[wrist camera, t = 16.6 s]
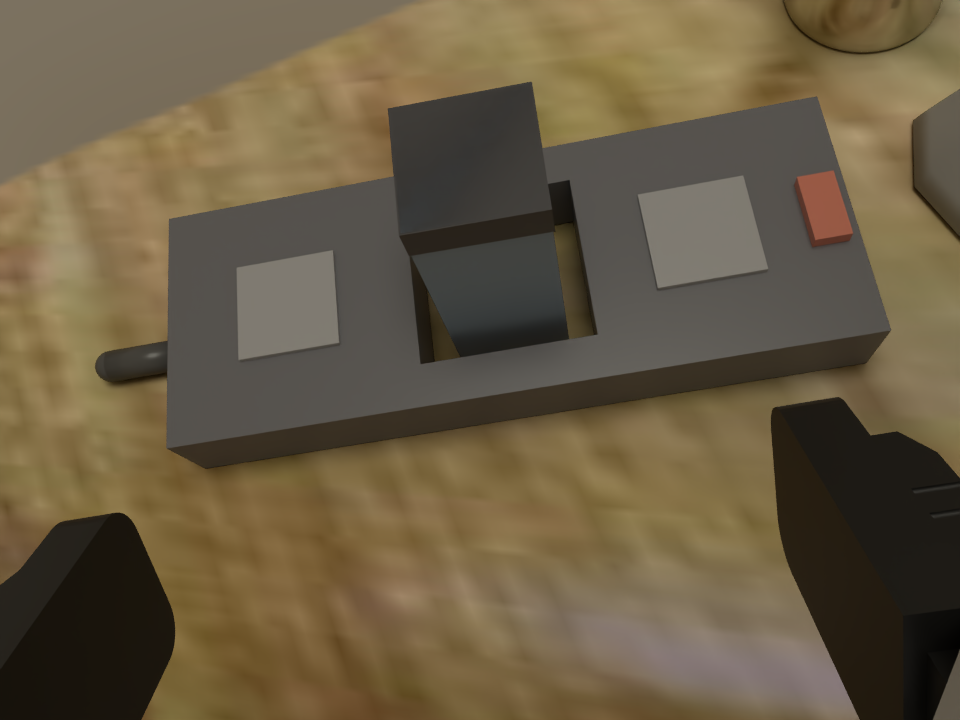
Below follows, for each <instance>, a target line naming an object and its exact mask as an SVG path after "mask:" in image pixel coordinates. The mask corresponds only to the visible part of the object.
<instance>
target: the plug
mask: <svg viewBox="0 0 960 720" xmlns="http://www.w3.org/2000/svg"><path fill="white" fill-rule="evenodd" d="M388 115H389V126H390V138H391V150H392V162H393V174H394V185H395V197H396V209H397V221H398V232H399V237H400V239H401V241H402V243H403V245H404V247H405V249H406V251H407V253H408V255H409V256H412V259H413V261H414V263H415V265H416V267H417V269H418V271H419V273H420V275H421V277H422V279H423V281H424V283H425V285H426V287H427V289H428V291H429V293H430V295H431V298H432V300H433V302H434V304H435V306H436V308H437V310H438V312H439V314H440V316H441V318H442V320H443V322H444V324H445V326H446V328H447V330H448V332H449V335H450V337H451V339H452V341H453V343H454V345H455V347H456V349H457V351H458V353H459V355H460V357H467V356H473V355H479V354H485V353H491V352H497V351H503V350H509V349H514V348H520V347H526V346H532V345H538V344H544V343H550V342H556V341H562V340H568V339H569V336H568V329H567V322H566V315H565V308H564V301H563V295H562V288H561V281H560V274H559V267H558V261H557V254H556V247H555V240H554V233H553V232H555V227H554V220H553V213H552V206H551V200H550V194H549V188H548V181H547V175H546V169H545V162H544V156H543V150H542V143H541V137H540V131H539V125H538V118H537V112H536V106H535V99H534V93H533V87H532V82H527V83H522V84H517V85H511V86H506V87H501V88H495V89H490V90H485V91H479V92H474V93H469V94H463V95H458V96H453V97H447V98H442V99H437V100H431V101H426V102H421V103H415V104H410V105H405V106H399V107H394V108H389V109H388Z"/></svg>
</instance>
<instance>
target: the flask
mask: <svg viewBox="0 0 960 720" xmlns="http://www.w3.org/2000/svg"><path fill="white" fill-rule="evenodd" d="M913 146H914V187H915V188H916V189H917V190H918V191H919V192H920V193H921V194H922V196H923V197H924V198H925V199H926V200H927V201H928V202H929V203H930V204H931V205H932V207H933V208H934V209H935V210H936V211H937V212H938V213H939V214H940V215H941V216H942V218H943V219H944V220H945V221H946V222H947V223H948V224H949V225H950V226H951V227H952V229H953V230H954V231H955V232H956V233H957V234H958V235H959V236H960V89H959V90H957V91H956V92H954V93H953V94H951V95H950V96H948V97H947V98H945V99H944V100H942V101H941V102H939V103H937V104H936V105H934V106H933V107H931V108H930V109H928V110H927V111H926V112H924V113H923V114H921V115H920V116H918V117H917V118H916V119H914V120H913Z"/></svg>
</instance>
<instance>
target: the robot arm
mask: <svg viewBox="0 0 960 720" xmlns="http://www.w3.org/2000/svg"><path fill="white" fill-rule="evenodd" d="M771 433H772V447H773V460H774V473H775V487H776V500H777V514H778V523H779V530H780V535H781V540H782V544H783V548H784V552H785V556H786V559H787V562H788V565H789V567H790V570H791V572H792V575H793V577H794V579H795V581H796V583H797V585H798V587H799V590H800V592H801V594H802V596H803V598H804V600H805V603H806V605H807V607H808V609H809V611H810V613H811V616H812V618H813V620H814V622H815V624H816V626H817V629H818V631H819V633H820V635H821V637H822V639H823V641H824V644H825V646H826V648H827V650H828V652H829V654H830V657H831V659H832V661H833V663H834V665H835V667H836V670H837V672H838V674H839V676H840V678H841V680H842V682H843V685H844V687H845V689H846V691H847V693H848V695H849V698H850V700H851V702H852V704H853V706H854V708H855V711H856V713H857V715H858V717H859V719H860V720H960V478H959V477H958V476H957V474H956V473H955V472H954V471H953V470H952V469H951V468H950V466H949V465H948V464H947V463H946V462H945V461H944V459H943V458H942V457H941V456H940V455H939V454H938V453H937V452H936V451H934V450H932V449H930V448H928V447H926V446H924V445H922V444H920V443H918V442H917V441H915V440H913V439H911V438H909V437H907V436H905V435H903V434H901V433H899V432H898V431H897V432H891V433H884V434H878V435H870V434H869V433H868V432H867V430H866V429H865V428H864V426H863V425H862V424H861V422H860V421H859V420H858V418H857V417H856V416H855V414H854V413H853V412H852V410H851V409H850V408H849V407H848V405H847V404H846V403H845V401H844V400H843V399H841V398H840V397H835V398H829V399H823V400H817V401H811V402H805V403H799V404H792V405H786V406H780V407H775V408H773V410H772V414H771ZM174 642H175V622H174V616H173V612H172V608H171V606H170V603H169V601H168V599H167V596H166V594H165V592H164V590H163V587H162V585H161V583H160V580H159V578H158V576H157V574H156V571H155V569H154V567H153V565H152V562H151V560H150V558H149V556H148V553H147V551H146V549H145V547H144V544H143V542H142V540H141V538H140V535H139V533H138V531H137V529H136V527H135V525H134V523H133V522H132V520H131V519H130V518H129V517H128V516H126V515H125V514H123V513H111V514H105V515H99V516H93V517H87V518H81V519H74V520H68V521H63V522H60V523H58V524H57V525H55V527H54V528H53V529H52V530H51V531H50V532H49V534H48V535H47V536H46V537H45V539H44V540H43V541H42V543H41V544H40V545H39V546H38V548H37V549H36V550H35V551H34V553H33V554H32V555H31V556H30V558H29V559H28V560H27V562H26V563H25V564H24V565H23V567H22V568H21V569H20V570H19V571H18V572H16V573H15V574H14V575H13V576H11V577H10V578H9V579H8V580H6V581H5V582H4V583H3V584H1V585H0V720H141V719H142V717H143V715H144V713H145V711H146V709H147V707H148V704H149V702H150V700H151V698H152V696H153V694H154V692H155V690H156V688H157V686H158V683H159V681H160V679H161V677H162V675H163V673H164V671H165V669H166V667H167V665H168V662H169V660H170V658H171V655H172V652H173V648H174Z"/></svg>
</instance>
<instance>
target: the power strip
mask: <svg viewBox="0 0 960 720" xmlns="http://www.w3.org/2000/svg"><path fill="white" fill-rule="evenodd" d="M542 150H543V156H544V162H545V169H546V175H547V181H548V188H549V194H550V200H551V206H552V213H553V220H554V225H556V224H562V223H567V222H573V221H574V226H575V232H576V237H577V243H578V248H579V254H580V259H581V265H582V270H583V276H584V281H585V287H586V292H587V298H588V303H589V309H590V314H591V320H592V325H593V331H594V335H592V336H586V337H580V338H574V339H568V340H562V341H556V342H550V343H544V344H538V345H532V346H526V347H520V348H514V349H509V350H503V351H497V352H491V353H485V354H479V355H473V356H467V357H461V358H455V359H449V360H443V361H437V362H434V354H433V344H432V335H431V326H430V317H429V307H428V298H427V289H426V285H425V283H424V281H423V279H422V277H421V275H420V273H419V271H418V269H417V267H416V265H415V263H414V261H413V259H412V256H409V255H408V253H407V251H406V249H405V247H404V245H403V243H402V241H401V239H400V237H399V232H398V221H397V209H396V197H395V185H394V177H389V178H384V179H378V180H373V181H368V182H362V183H357V184H352V185H347V186H341V187H336V188H331V189H325V190H320V191H315V192H310V193H304V194H299V195H294V196H288V197H283V198H278V199H273V200H267V201H262V202H257V203H252V204H246V205H241V206H236V207H230V208H225V209H220V210H215V211H209V212H204V213H199V214H193V215H188V216H183V217H178V218H172V219H169V270H168V341H164V342H158V343H152V344H147V345H141V346H135V347H129V348H124V349H118V350H112V351H107V352H104V353H103V354H101V355H100V356H99V357H98V359H97V360H96V363H95V369H96V372H97V374H98V375H99V377H100V378H102V379H103V380H106V381H110V382H115V381H121V380H126V379H132V378H138V377H144V376H150V375H156V374H161V373H167V449H169V450H171V451H173V452H174V453H176V454H178V455H180V456H182V457H184V458H186V459H188V460H190V461H192V462H194V463H196V464H198V465H199V466H201V467H203V468H205V469H206V468H212V467H218V466H224V465H231V464H237V463H243V462H249V461H256V460H262V459H268V458H274V457H281V456H287V455H293V454H299V453H306V452H312V451H318V450H324V449H331V448H337V447H343V446H349V445H356V444H362V443H368V442H374V441H381V440H387V439H393V438H400V437H406V436H412V435H418V434H425V433H431V432H437V431H443V430H450V429H456V428H462V427H468V426H475V425H481V424H487V423H493V422H500V421H506V420H512V419H518V418H525V417H531V416H537V415H543V414H550V413H556V412H562V411H568V410H575V409H581V408H587V407H594V406H600V405H606V404H612V403H619V402H625V401H631V400H637V399H644V398H650V397H656V396H662V395H669V394H675V393H681V392H687V391H694V390H700V389H706V388H712V387H719V386H725V385H731V384H737V383H744V382H750V381H756V380H762V379H769V378H775V377H781V376H788V375H794V374H800V373H806V372H813V371H819V370H825V369H831V368H838V367H844V366H850V365H856V364H863V363H866V362H867V361H868V360H869V359H870V357H871V356H872V355H873V353H874V352H875V351H876V349H877V348H878V347H879V346H880V344H881V343H882V342H883V340H884V339H885V338H886V336H887V335H888V334H889V333H890V331H891V328H890V325H889V322H888V319H887V316H886V312H885V309H884V306H883V303H882V300H881V297H880V294H879V290H878V287H877V284H876V281H875V278H874V275H873V271H872V268H871V265H870V262H869V259H868V256H867V253H866V249H865V246H864V243H863V240H862V237H861V234H860V230H859V227H858V224H857V221H856V218H855V215H854V211H853V208H852V205H851V202H850V199H849V196H848V193H847V189H846V186H845V183H844V180H843V177H842V174H841V170H840V167H839V164H838V161H837V158H836V155H835V152H834V148H833V145H832V142H831V139H830V136H829V133H828V129H827V126H826V123H825V120H824V117H823V114H822V111H821V107H820V104H819V101H818V98H817V97H811V98H806V99H801V100H796V101H790V102H785V103H780V104H774V105H769V106H764V107H759V108H753V109H748V110H743V111H737V112H732V113H727V114H722V115H716V116H711V117H706V118H700V119H695V120H690V121H685V122H679V123H674V124H669V125H663V126H658V127H653V128H648V129H642V130H637V131H632V132H627V133H621V134H616V135H611V136H605V137H600V138H595V139H590V140H584V141H579V142H574V143H568V144H563V145H558V146H553V147H547V148H542Z"/></svg>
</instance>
